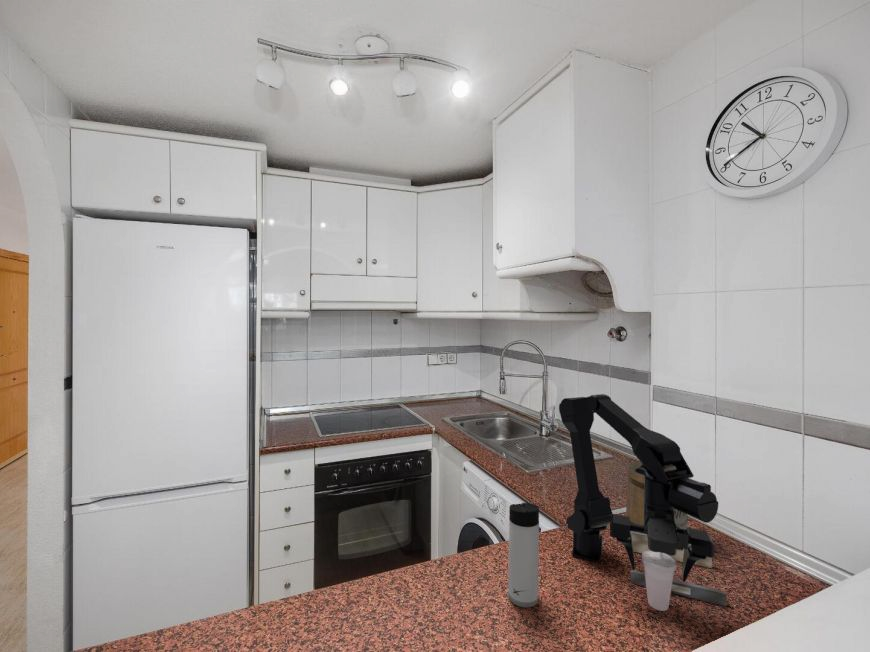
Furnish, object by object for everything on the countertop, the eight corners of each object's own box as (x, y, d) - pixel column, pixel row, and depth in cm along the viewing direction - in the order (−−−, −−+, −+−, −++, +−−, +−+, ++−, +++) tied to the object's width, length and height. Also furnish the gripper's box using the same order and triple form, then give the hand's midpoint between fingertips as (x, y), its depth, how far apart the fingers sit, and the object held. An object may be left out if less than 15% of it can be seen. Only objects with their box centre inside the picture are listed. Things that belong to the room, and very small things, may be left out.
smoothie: (680, 617, 81) (681, 548, 81) (646, 612, 83) (647, 544, 82) (669, 596, 88) (670, 532, 87) (637, 592, 89) (637, 528, 89)
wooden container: (664, 555, 103) (665, 469, 103) (614, 528, 117) (615, 452, 116) (698, 541, 110) (699, 460, 110) (648, 517, 123) (649, 445, 123)
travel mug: (517, 611, 83) (518, 513, 82) (503, 591, 89) (504, 499, 89) (544, 606, 84) (545, 510, 84) (529, 586, 91) (530, 496, 90)
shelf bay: (630, 583, 92) (631, 561, 92) (628, 548, 106) (629, 529, 106) (726, 607, 85) (727, 583, 84) (710, 565, 99) (710, 545, 99)
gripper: (609, 507, 81) (608, 585, 82) (721, 527, 74) (720, 613, 74) (610, 487, 92) (609, 556, 92) (709, 503, 84) (707, 578, 84)
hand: (658, 574), depth 85 cm, fingers open, 9 cm apart
